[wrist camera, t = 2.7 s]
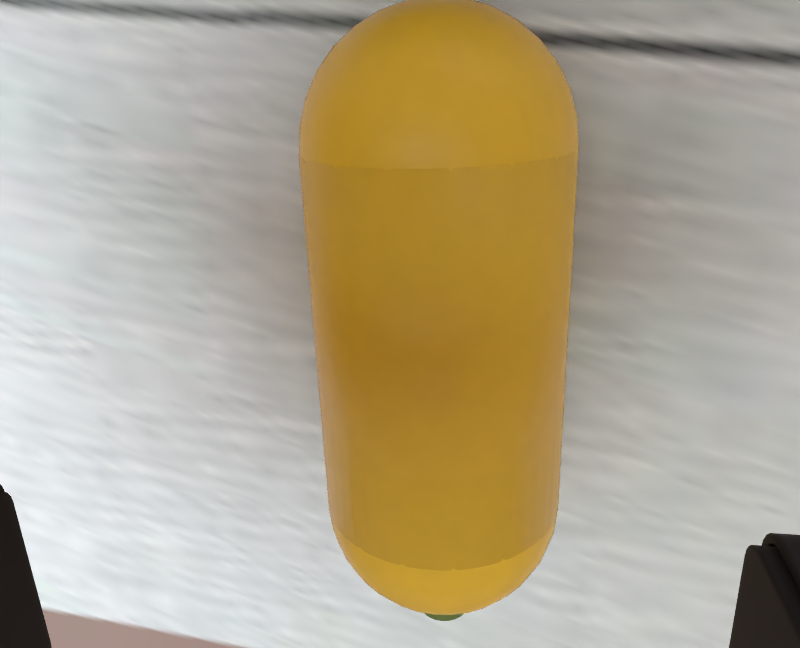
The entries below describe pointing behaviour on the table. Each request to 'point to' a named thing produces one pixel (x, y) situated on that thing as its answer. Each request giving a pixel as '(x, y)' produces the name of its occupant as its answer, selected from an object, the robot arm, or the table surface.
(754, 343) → the table surface
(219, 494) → the table surface
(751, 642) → the robot arm
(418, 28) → the squash
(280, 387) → the table surface
